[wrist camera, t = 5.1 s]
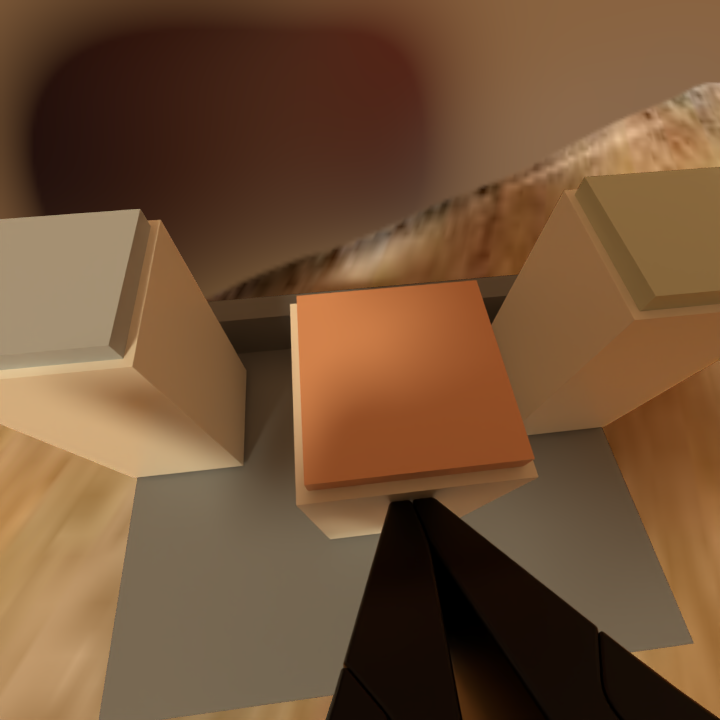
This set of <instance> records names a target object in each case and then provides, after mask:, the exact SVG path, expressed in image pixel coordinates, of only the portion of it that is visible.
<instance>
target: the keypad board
mask: <svg viewBox="0 0 720 720" xmlns="http://www.w3.org/2000/svg"><path fill="white" fill-rule="evenodd" d="M517 276H518V275H508V276H497V277H485V278H474V279H463V280H451V281H440V282H428V283H417V284H405V285H394V286H382V287H371V288H360V289H348V290H337V291H325V292H314V293H302V294H291V295H279V296H268V297H257V298H245V299H234V300H222V301H211V302H208V304H209V306H210V307H211V309H212V311H213V313H214V314H215V316H216V318H217V320H218V322H219V323H220V325H221V327H222V329H223V330H224V332H225V334H226V336H227V337H228V339H229V341H230V343H231V344H232V346H233V348H234V350H235V351H236V353H237V355H238V357H239V358H240V360H241V362H242V364H243V365H244V367H245V369H246V371H247V372H246V402H245V433H244V463H243V466H236V467H227V468H218V469H209V470H200V471H191V472H182V473H173V474H164V475H155V476H146V477H138V478H137V484H136V490H135V497H134V503H133V509H132V515H131V522H130V528H129V534H128V540H127V547H126V553H125V559H124V565H123V572H122V578H121V584H120V590H119V597H118V603H117V609H116V615H115V622H114V628H113V634H112V640H111V646H110V653H109V659H108V665H107V671H106V678H105V684H104V690H103V696H102V703H101V709H100V715H99V720H162V719H169V718H176V717H183V716H190V715H197V714H204V713H211V712H218V711H225V710H232V709H239V708H246V707H253V706H260V705H267V704H274V703H281V702H288V701H295V700H302V699H309V698H316V697H323V696H330V695H334V692H335V688H336V685H337V681H338V678H339V675H340V671H341V669H342V668H343V662H344V658H345V655H346V652H347V648H348V645H349V641H350V638H351V634H352V631H353V627H354V624H355V620H356V617H357V614H358V610H359V607H360V603H361V600H362V596H363V593H364V589H365V586H366V582H367V579H368V576H369V572H370V569H371V565H372V562H373V558H374V555H375V551H376V548H377V544H378V541H379V538H380V534H381V533H378V534H370V535H362V536H354V537H346V538H337V539H329V538H328V537H327V536H326V535H325V534H324V533H323V532H322V531H321V530H320V529H319V528H318V527H317V526H316V525H315V524H314V523H313V522H312V521H311V520H310V519H309V518H308V517H307V516H306V515H305V514H304V513H303V512H302V511H301V510H300V509H299V508H298V507H297V506H296V484H295V451H294V418H293V385H292V352H291V319H290V304H297V296H301V295H313V294H324V293H336V292H347V291H359V290H370V289H381V288H393V287H404V286H416V285H427V284H438V283H450V282H461V281H473V280H477V283H478V286H479V289H480V292H481V295H482V298H483V301H484V305H485V308H486V311H487V314H488V317H489V320H490V323H491V325H492V323H493V321H494V319H495V317H496V315H497V313H498V312H499V310H500V308H501V306H502V304H503V302H504V300H505V299H506V297H507V295H508V293H509V291H510V289H511V287H512V286H513V284H514V282H515V280H516V278H517ZM527 436H528V439H529V442H530V445H531V448H532V451H533V454H534V457H535V459H534V460H533V462H534V465H535V468H536V471H537V474H538V478H536V479H534V480H532V481H530V482H528V483H526V484H524V485H522V486H520V487H518V488H516V489H515V490H513V491H511V492H509V493H507V494H505V495H503V496H501V497H499V498H497V499H495V500H493V501H491V502H489V503H487V504H485V505H483V506H482V507H480V508H478V509H476V510H474V511H472V512H470V513H468V514H466V515H464V516H462V517H460V518H461V519H462V520H463V521H464V522H466V523H467V524H468V525H470V526H471V527H472V528H473V529H475V530H476V531H477V532H478V533H480V534H481V535H482V536H483V537H485V538H486V539H487V540H488V541H490V542H491V543H492V544H493V545H495V546H496V547H497V548H499V549H500V550H501V551H502V552H504V553H505V554H506V555H507V556H509V557H510V558H511V559H512V560H514V561H515V562H516V563H517V564H519V565H520V566H521V567H523V568H524V569H525V570H526V571H528V572H529V573H530V574H531V575H533V576H534V577H535V578H536V579H538V580H539V581H540V582H541V583H543V584H544V585H545V586H546V587H548V588H549V589H550V590H552V591H553V592H554V593H555V594H557V595H558V596H559V597H560V598H562V599H563V600H564V601H565V602H567V603H568V604H569V605H570V606H572V607H573V608H574V609H576V610H577V611H578V612H579V613H581V614H582V615H583V616H584V617H586V618H587V619H588V620H589V621H591V622H592V623H593V624H594V625H596V626H597V627H598V631H599V632H601V631H603V632H605V633H606V634H607V635H609V636H610V637H611V638H612V639H614V640H615V641H616V642H618V643H619V644H620V645H621V646H623V647H624V648H625V649H626V650H628V651H629V652H637V651H644V650H651V649H658V648H665V647H672V646H679V645H686V644H693V640H692V638H691V636H690V633H689V631H688V629H687V626H686V624H685V622H684V619H683V617H682V614H681V612H680V610H679V607H678V605H677V603H676V600H675V598H674V596H673V593H672V591H671V589H670V586H669V584H668V582H667V579H666V577H665V575H664V572H663V570H662V568H661V565H660V563H659V561H658V558H657V556H656V553H655V551H654V549H653V546H652V544H651V542H650V539H649V537H648V535H647V532H646V530H645V528H644V525H643V523H642V521H641V518H640V516H639V514H638V511H637V509H636V507H635V504H634V502H633V500H632V497H631V495H630V492H629V490H628V488H627V485H626V483H625V481H624V478H623V476H622V474H621V471H620V469H619V467H618V464H617V462H616V460H615V457H614V455H613V453H612V450H611V448H610V446H609V443H608V441H607V439H606V436H605V434H604V431H603V429H602V427H597V428H588V429H579V430H570V431H561V432H552V433H543V434H534V435H527Z"/></svg>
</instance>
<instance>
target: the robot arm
mask: <svg viewBox="0 0 720 720" xmlns="http://www.w3.org/2000/svg"><path fill="white" fill-rule="evenodd" d="M326 720H720V719H719V718H718V717H717V716H715V715H714V714H712V713H711V712H710V711H708V710H707V709H705V708H704V707H703V706H701V705H700V704H698V703H697V702H696V701H694V700H693V699H691V698H690V697H688V696H687V695H686V694H684V693H683V692H681V691H680V690H679V689H677V688H676V687H675V686H673V685H672V684H671V683H669V682H668V681H667V680H666V679H664V678H663V677H662V676H660V675H659V674H658V673H656V672H655V671H654V670H652V669H651V668H650V667H648V666H647V665H646V664H645V663H643V662H642V661H641V660H639V659H638V658H637V657H635V656H634V655H633V654H631V653H630V652H629V651H628V650H626V649H625V648H624V647H623V646H621V645H620V644H619V643H618V642H616V641H615V640H614V639H612V638H611V637H610V636H609V635H607V634H606V633H605V632H603V631H601V632H599V631H598V627H597V626H596V625H594V624H593V623H592V622H591V621H589V620H588V619H587V618H586V617H584V616H583V615H582V614H581V613H579V612H578V611H577V610H576V609H574V608H573V607H572V606H570V605H569V604H568V603H567V602H565V601H564V600H563V599H562V598H560V597H559V596H558V595H557V594H555V593H554V592H553V591H552V590H550V589H549V588H548V587H546V586H545V585H544V584H543V583H541V582H540V581H539V580H538V579H536V578H535V577H534V576H533V575H531V574H530V573H529V572H528V571H526V570H525V569H524V568H523V567H521V566H520V565H519V564H517V563H516V562H515V561H514V560H512V559H511V558H510V557H509V556H507V555H506V554H505V553H504V552H502V551H501V550H500V549H499V548H497V547H496V546H495V545H493V544H492V543H491V542H490V541H488V540H487V539H486V538H485V537H483V536H482V535H481V534H480V533H478V532H477V531H476V530H475V529H473V528H472V527H471V526H470V525H468V524H467V523H466V522H464V521H463V520H462V519H461V518H459V517H458V516H457V515H456V514H454V513H453V512H452V511H451V510H449V509H448V508H447V507H446V506H444V505H443V504H442V503H440V502H439V501H438V500H437V499H435V498H433V497H429V498H420V499H414V500H413V502H411V501H410V500H403V501H395V502H391V503H390V504H389V506H388V510H387V513H386V517H385V520H384V524H383V527H382V531H381V534H380V538H379V541H378V544H377V548H376V551H375V555H374V558H373V562H372V565H371V569H370V572H369V576H368V579H367V582H366V586H365V589H364V593H363V596H362V600H361V603H360V607H359V610H358V614H357V617H356V620H355V624H354V627H353V631H352V634H351V638H350V641H349V645H348V648H347V652H346V655H345V658H344V662H343V668H342V669H341V671H340V675H339V678H338V681H337V685H336V688H335V692H334V695H333V699H332V702H331V705H330V708H329V711H328V714H327V717H326Z"/></svg>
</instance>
